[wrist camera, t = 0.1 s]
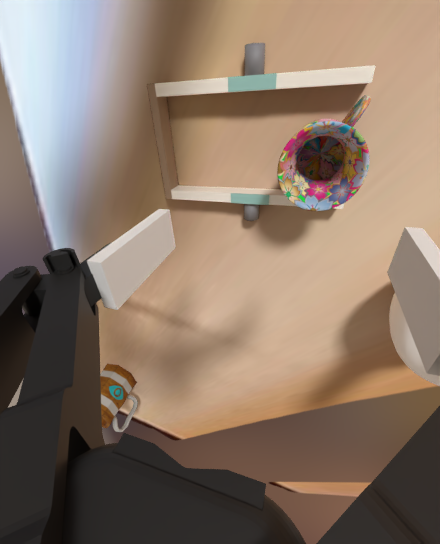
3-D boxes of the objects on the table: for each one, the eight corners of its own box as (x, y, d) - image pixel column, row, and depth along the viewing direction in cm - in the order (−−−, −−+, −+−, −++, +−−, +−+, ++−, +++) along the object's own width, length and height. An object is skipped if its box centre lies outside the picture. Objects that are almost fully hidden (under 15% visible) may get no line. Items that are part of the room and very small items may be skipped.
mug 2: (326, 197, 39) (328, 225, 31) (274, 166, 39) (262, 186, 31) (390, 115, 32) (416, 122, 23) (326, 76, 32) (329, 70, 23)
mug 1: (97, 366, 95) (66, 405, 84) (117, 360, 88) (86, 401, 76) (133, 398, 102) (109, 438, 90) (154, 395, 94) (131, 438, 83)
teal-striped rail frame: (153, 58, 36) (141, 55, 34) (378, 32, 28) (384, 27, 26) (176, 209, 48) (168, 215, 46) (337, 220, 41) (338, 228, 38)
